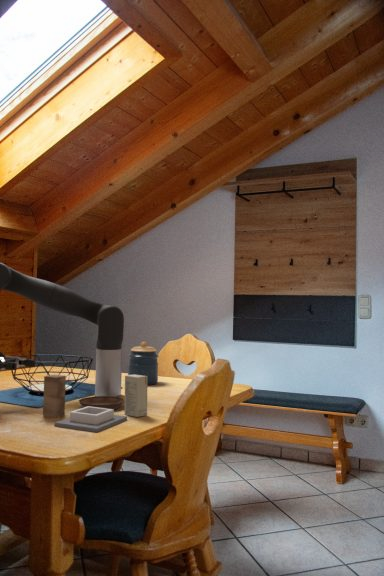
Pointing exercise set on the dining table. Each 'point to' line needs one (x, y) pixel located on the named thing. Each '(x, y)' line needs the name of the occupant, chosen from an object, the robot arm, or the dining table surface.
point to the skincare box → (136, 395)
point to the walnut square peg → (54, 396)
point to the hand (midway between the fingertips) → (25, 365)
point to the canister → (144, 363)
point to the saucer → (102, 402)
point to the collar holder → (91, 419)
